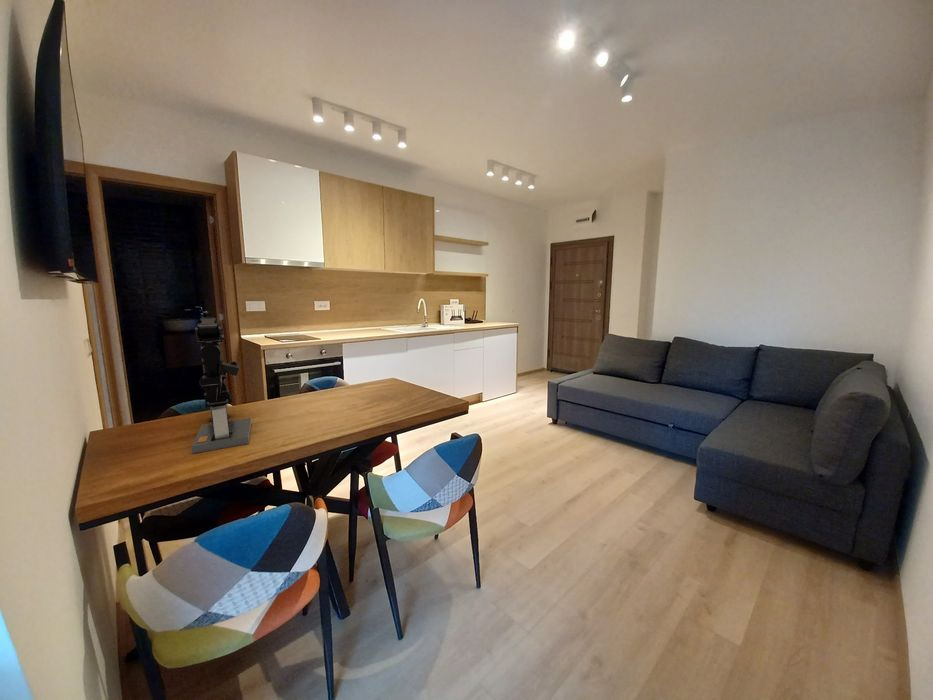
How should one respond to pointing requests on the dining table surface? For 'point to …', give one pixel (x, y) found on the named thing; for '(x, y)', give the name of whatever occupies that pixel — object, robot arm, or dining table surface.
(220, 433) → the steel peg
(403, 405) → the dining table surface
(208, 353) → the robot arm
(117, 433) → the dining table surface
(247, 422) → the flange plate
